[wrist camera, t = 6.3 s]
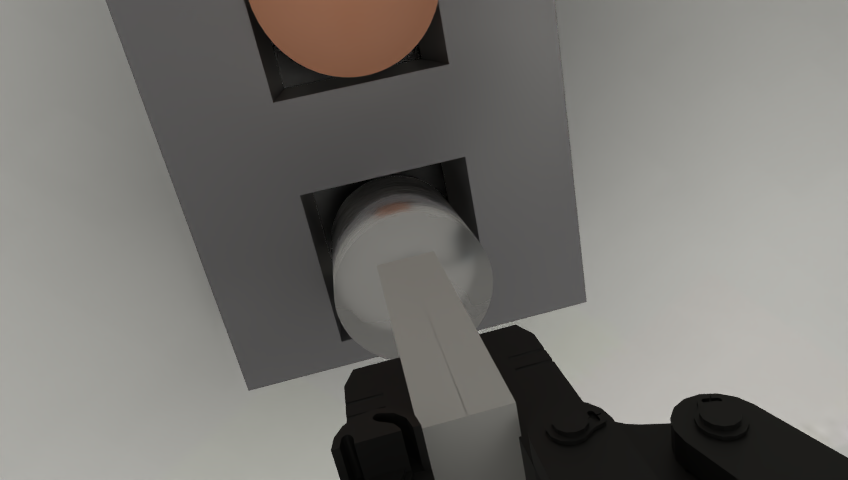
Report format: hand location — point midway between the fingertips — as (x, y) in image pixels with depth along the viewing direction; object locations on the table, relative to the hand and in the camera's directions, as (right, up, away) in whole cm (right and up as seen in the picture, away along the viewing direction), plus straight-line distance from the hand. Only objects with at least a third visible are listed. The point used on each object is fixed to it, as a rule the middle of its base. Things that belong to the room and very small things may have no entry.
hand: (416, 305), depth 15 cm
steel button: (-1, +2, +5) cm, 5 cm away
